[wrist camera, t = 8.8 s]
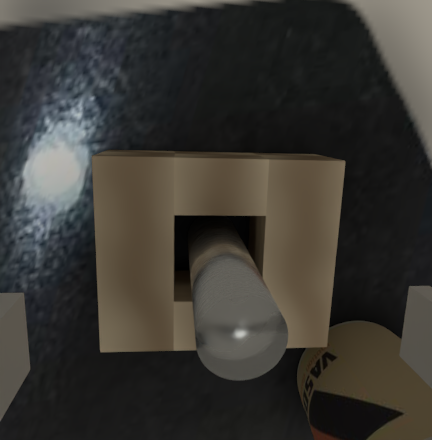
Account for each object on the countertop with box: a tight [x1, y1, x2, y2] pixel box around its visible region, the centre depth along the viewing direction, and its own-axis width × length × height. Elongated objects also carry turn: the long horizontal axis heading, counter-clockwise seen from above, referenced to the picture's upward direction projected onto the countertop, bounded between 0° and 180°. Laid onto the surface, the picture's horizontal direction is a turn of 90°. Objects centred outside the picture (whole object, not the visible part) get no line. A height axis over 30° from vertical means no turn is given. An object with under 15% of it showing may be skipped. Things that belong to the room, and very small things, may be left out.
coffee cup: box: [297, 321, 432, 440], centre depth 22 cm, size 9×9×12 cm
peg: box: [187, 215, 288, 380], centre depth 19 cm, size 3×3×12 cm
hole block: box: [92, 150, 345, 352], centre depth 22 cm, size 12×10×4 cm
